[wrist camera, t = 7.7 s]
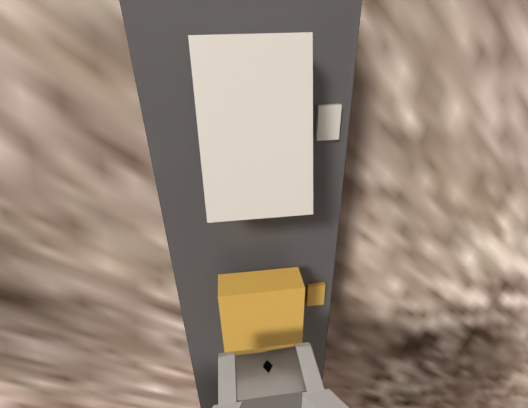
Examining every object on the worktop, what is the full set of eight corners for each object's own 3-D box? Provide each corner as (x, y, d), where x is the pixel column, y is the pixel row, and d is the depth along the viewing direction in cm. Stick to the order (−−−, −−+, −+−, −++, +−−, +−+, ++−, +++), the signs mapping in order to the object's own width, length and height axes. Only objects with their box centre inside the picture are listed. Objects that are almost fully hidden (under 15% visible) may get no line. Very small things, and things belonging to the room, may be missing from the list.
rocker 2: (295, 349, 15) (300, 373, 14) (227, 357, 15) (228, 382, 14) (298, 266, 13) (305, 287, 12) (218, 274, 12) (217, 296, 11)
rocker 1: (304, 203, 11) (313, 214, 10) (209, 210, 11) (207, 222, 9) (302, 41, 9) (312, 32, 8) (193, 44, 9) (187, 35, 8)
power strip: (301, 396, 26) (316, 463, 22) (214, 408, 25) (212, 480, 21) (324, -3, 13) (372, -20, 9) (146, 0, 12) (109, -17, 8)
